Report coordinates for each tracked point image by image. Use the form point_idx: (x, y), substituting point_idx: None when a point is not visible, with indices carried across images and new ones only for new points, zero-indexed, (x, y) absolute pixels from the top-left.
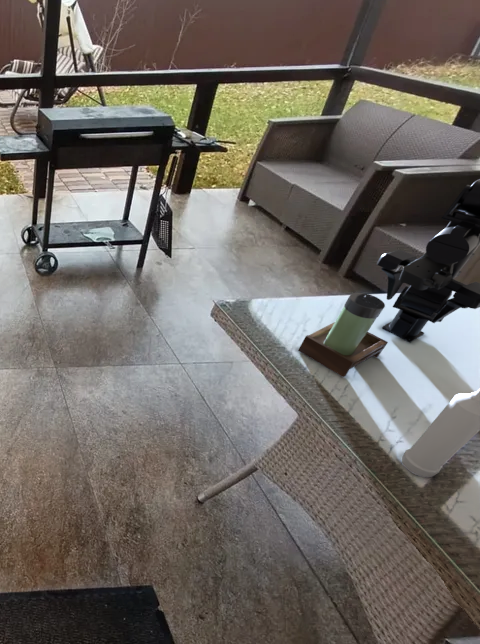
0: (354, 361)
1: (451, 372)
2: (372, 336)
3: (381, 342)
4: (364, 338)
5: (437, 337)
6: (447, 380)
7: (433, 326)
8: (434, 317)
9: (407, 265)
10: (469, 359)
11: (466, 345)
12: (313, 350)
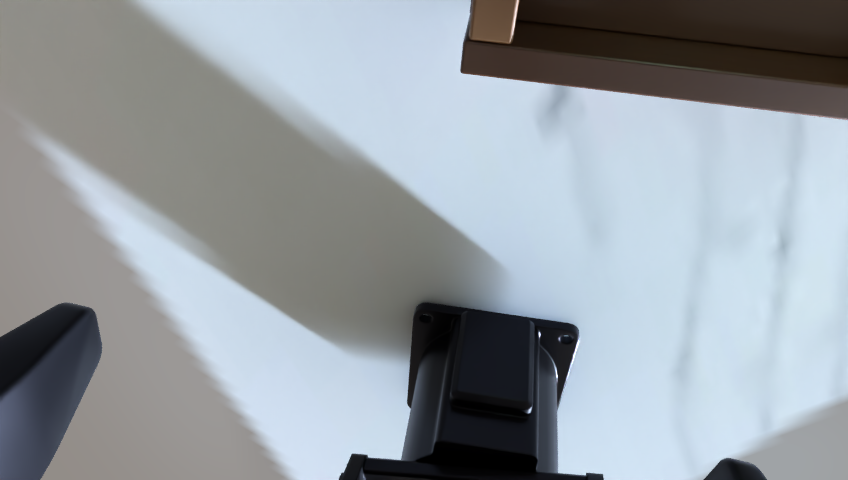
0: None
1: (166, 198)
2: (592, 55)
3: (497, 13)
4: (635, 37)
5: (364, 414)
6: (124, 106)
7: None
8: (31, 370)
9: None
10: (203, 350)
11: (270, 428)
12: None
